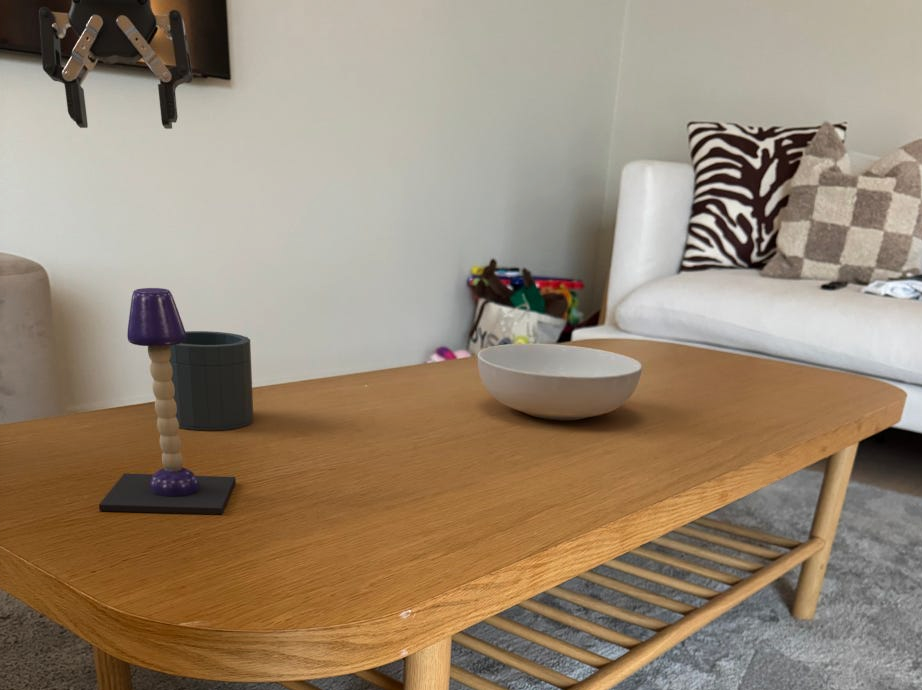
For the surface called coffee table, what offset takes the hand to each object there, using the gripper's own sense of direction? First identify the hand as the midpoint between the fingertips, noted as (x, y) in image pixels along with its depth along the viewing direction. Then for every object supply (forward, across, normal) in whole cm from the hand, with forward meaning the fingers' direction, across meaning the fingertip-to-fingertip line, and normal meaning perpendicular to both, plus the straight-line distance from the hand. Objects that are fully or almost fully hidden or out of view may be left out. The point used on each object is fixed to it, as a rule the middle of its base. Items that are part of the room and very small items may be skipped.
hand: (125, 126), depth 99 cm
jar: (+30, +5, +2) cm, 30 cm away
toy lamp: (+35, +5, -25) cm, 44 cm away
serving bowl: (+30, +48, +12) cm, 58 cm away
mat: (+36, +5, -25) cm, 44 cm away
